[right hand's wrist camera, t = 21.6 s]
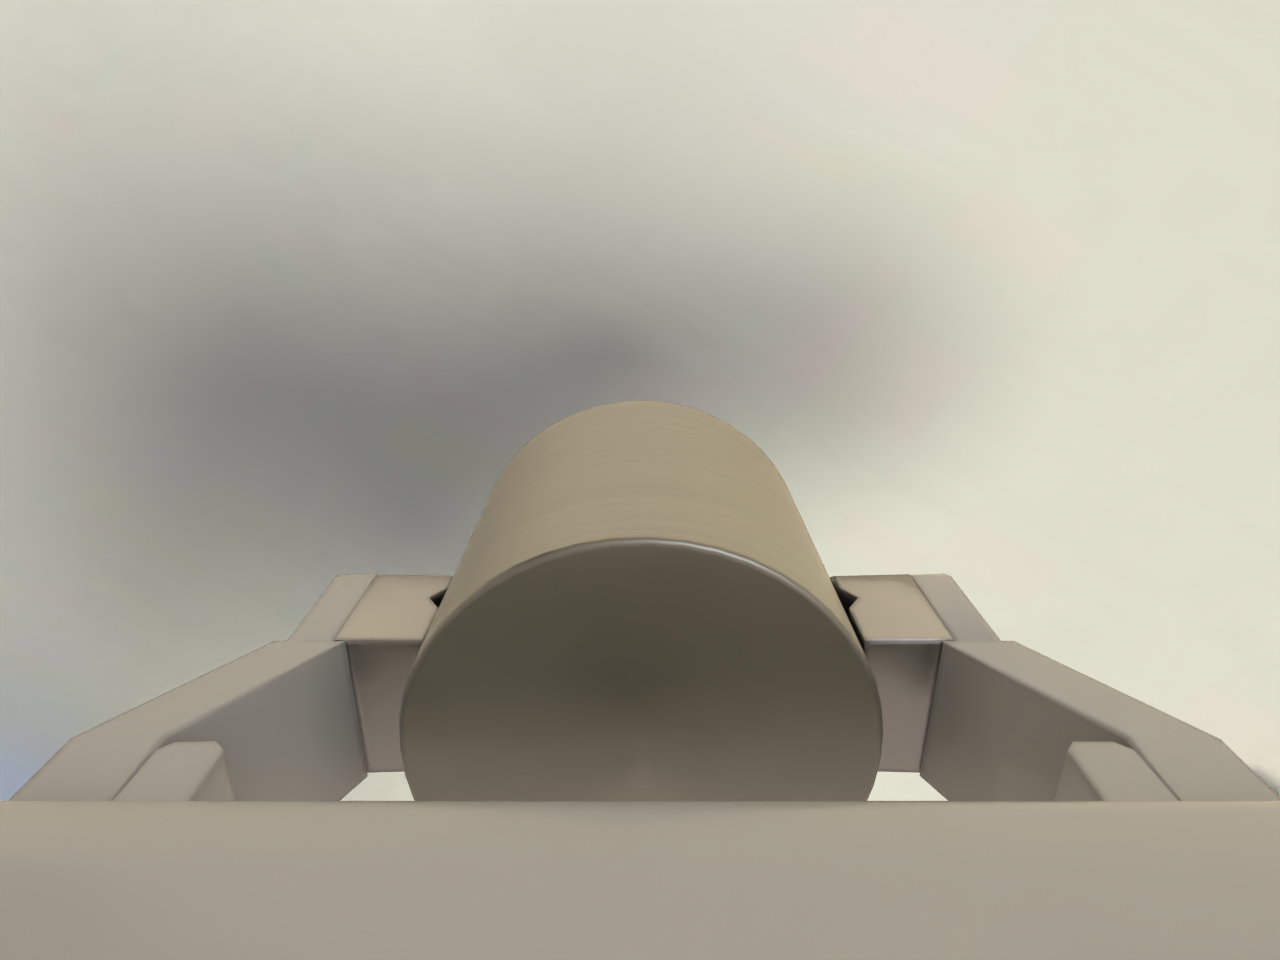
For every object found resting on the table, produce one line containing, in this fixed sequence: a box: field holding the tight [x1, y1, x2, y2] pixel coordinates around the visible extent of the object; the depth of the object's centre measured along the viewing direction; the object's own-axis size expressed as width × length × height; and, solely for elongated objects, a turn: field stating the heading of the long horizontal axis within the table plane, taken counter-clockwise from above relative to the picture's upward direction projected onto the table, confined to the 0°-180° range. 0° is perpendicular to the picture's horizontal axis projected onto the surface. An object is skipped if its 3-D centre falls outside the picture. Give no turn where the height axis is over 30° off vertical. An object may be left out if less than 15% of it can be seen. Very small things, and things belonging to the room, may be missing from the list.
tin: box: [399, 400, 883, 801], centre depth 10 cm, size 5×5×4 cm
